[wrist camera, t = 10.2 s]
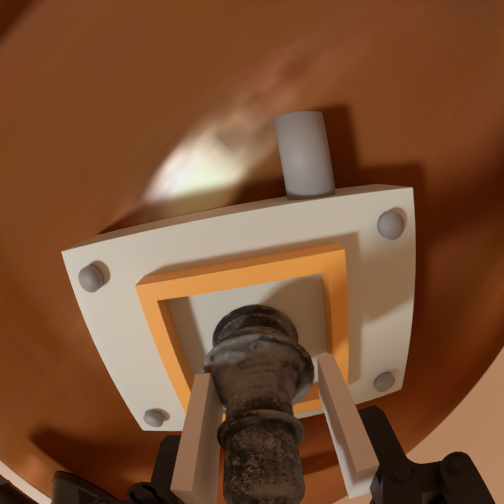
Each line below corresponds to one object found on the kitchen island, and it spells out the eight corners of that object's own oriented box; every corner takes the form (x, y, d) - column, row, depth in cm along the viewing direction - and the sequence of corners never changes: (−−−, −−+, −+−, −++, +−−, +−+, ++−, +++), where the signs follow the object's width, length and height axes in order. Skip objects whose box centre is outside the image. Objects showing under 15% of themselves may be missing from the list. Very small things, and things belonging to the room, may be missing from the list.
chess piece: (276, 282, 15) (331, 487, 4) (317, 355, 17) (375, 522, 5) (188, 326, 16) (130, 513, 5) (237, 389, 18) (235, 553, 6)
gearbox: (155, 393, 24) (138, 442, 17) (83, 173, 18) (31, 176, 12) (379, 357, 23) (408, 400, 17) (366, 119, 18) (413, 101, 12)
